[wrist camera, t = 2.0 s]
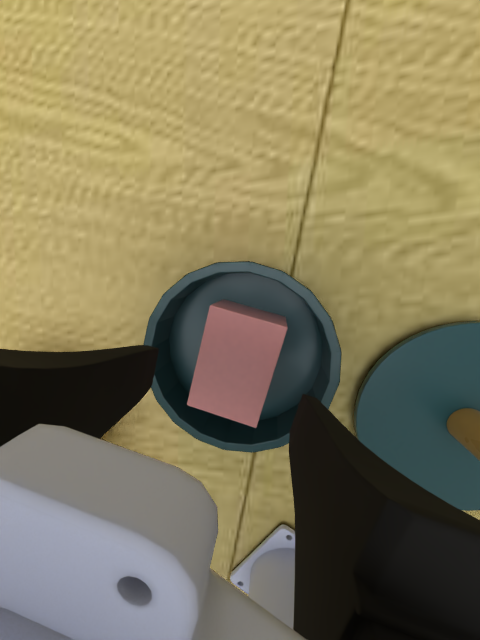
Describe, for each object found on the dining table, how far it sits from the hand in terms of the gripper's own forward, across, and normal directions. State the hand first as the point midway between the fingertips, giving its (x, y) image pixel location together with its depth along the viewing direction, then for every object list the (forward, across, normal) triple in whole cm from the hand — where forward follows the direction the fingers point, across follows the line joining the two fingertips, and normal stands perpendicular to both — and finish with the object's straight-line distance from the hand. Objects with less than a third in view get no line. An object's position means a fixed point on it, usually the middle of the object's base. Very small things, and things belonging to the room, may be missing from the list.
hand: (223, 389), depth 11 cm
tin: (+6, 0, 0) cm, 6 cm away
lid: (+6, -15, 0) cm, 16 cm away
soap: (+6, 0, 0) cm, 6 cm away
